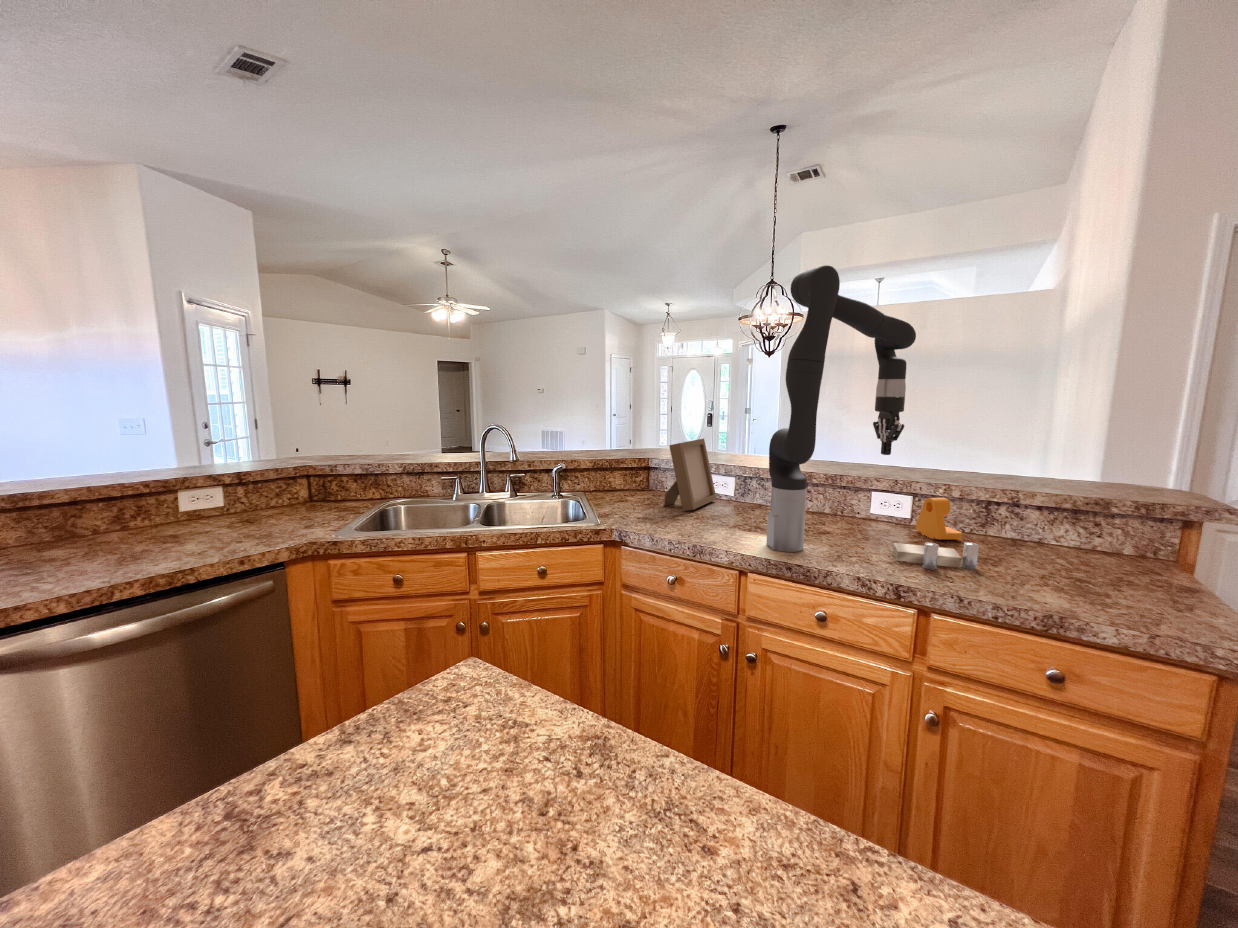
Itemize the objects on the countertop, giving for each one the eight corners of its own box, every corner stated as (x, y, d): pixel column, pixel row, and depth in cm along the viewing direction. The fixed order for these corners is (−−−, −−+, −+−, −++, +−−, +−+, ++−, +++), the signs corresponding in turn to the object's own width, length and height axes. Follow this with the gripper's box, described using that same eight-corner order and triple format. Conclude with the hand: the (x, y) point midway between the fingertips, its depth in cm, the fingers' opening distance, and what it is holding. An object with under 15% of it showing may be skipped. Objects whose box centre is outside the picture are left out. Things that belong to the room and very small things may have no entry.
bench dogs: (927, 569, 124) (929, 546, 123) (919, 565, 127) (921, 542, 126) (979, 569, 124) (981, 545, 123) (970, 565, 127) (973, 542, 126)
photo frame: (716, 501, 201) (717, 438, 197) (693, 512, 182) (693, 443, 179) (682, 497, 209) (683, 437, 205) (657, 507, 191) (657, 442, 187)
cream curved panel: (896, 562, 131) (897, 551, 130) (892, 553, 138) (893, 542, 138) (960, 569, 125) (961, 557, 125) (952, 559, 133) (953, 548, 132)
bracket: (962, 541, 147) (966, 501, 146) (938, 542, 147) (941, 501, 145) (938, 531, 158) (941, 494, 156) (915, 532, 158) (918, 494, 156)
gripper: (865, 395, 153) (861, 452, 155) (890, 395, 140) (885, 457, 142) (890, 395, 153) (886, 452, 155) (916, 395, 140) (911, 457, 142)
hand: (885, 454), depth 149 cm, fingers closed
